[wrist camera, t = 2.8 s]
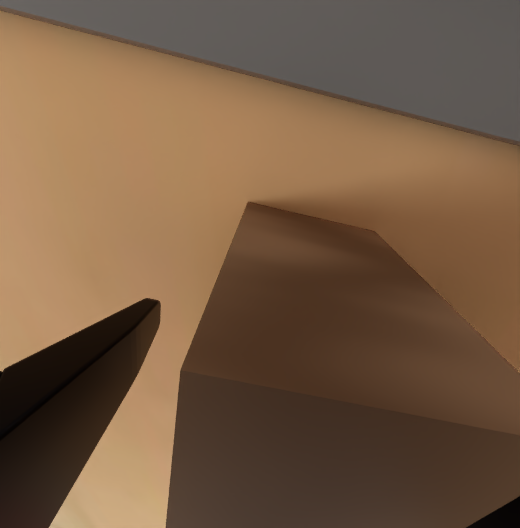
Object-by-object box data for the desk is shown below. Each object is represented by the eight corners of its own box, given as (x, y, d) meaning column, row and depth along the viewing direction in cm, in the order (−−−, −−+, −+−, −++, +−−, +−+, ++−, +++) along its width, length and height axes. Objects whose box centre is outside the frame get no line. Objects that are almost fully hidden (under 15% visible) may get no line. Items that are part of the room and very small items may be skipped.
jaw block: (373, 230, 8) (599, 450, 2) (305, 375, 11) (335, 603, 6) (248, 201, 7) (181, 369, 2) (217, 358, 11) (160, 578, 5)
